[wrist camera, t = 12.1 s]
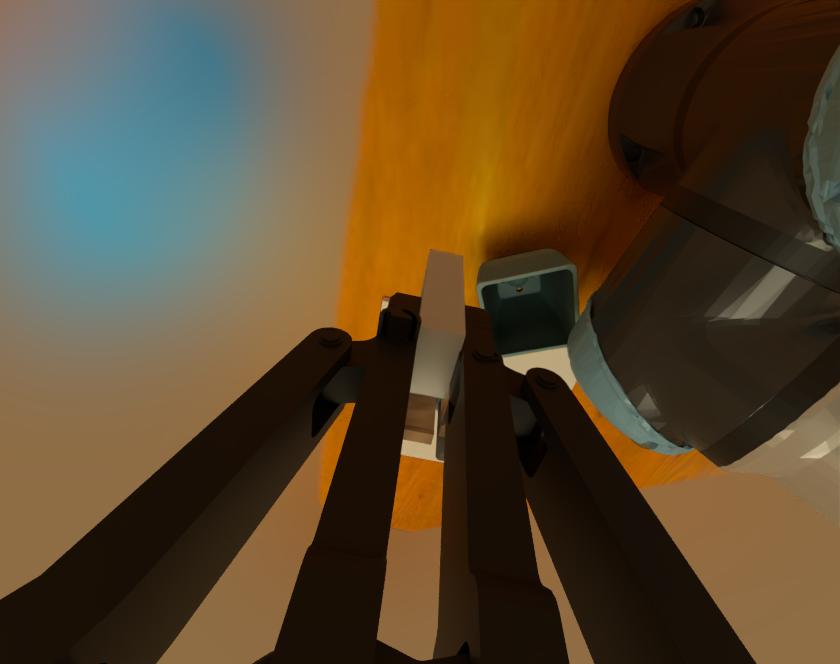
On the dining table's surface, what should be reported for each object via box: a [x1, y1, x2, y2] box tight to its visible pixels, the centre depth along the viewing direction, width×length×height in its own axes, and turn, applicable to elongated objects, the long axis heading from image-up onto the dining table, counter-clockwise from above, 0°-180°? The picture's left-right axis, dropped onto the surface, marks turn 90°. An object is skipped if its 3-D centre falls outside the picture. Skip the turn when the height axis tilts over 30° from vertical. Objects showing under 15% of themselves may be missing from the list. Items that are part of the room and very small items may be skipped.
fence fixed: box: [403, 393, 445, 461], centre depth 50 cm, size 11×2×9 cm, turn 80°
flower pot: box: [476, 248, 580, 358], centre depth 40 cm, size 9×9×9 cm
